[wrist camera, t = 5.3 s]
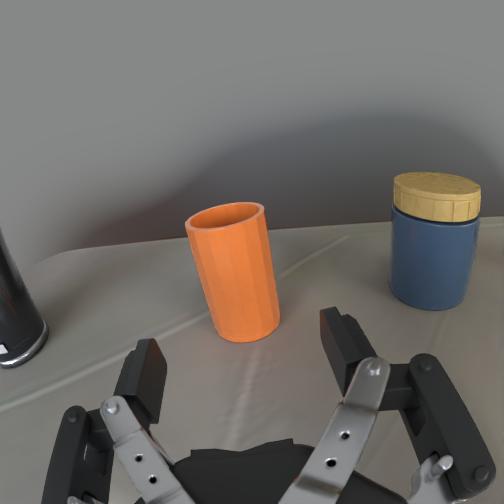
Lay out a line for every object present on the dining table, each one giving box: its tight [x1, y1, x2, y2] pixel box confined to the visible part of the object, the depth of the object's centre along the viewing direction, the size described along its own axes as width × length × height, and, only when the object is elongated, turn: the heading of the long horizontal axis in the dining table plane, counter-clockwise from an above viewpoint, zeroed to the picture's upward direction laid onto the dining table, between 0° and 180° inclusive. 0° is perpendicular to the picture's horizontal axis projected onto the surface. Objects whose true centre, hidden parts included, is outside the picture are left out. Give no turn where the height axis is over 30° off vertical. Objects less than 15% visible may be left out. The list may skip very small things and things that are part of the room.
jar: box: [389, 202, 481, 311], centre depth 22 cm, size 9×9×10 cm
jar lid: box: [394, 172, 481, 222], centre depth 20 cm, size 8×8×2 cm
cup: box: [185, 202, 281, 343], centre depth 23 cm, size 6×6×10 cm
